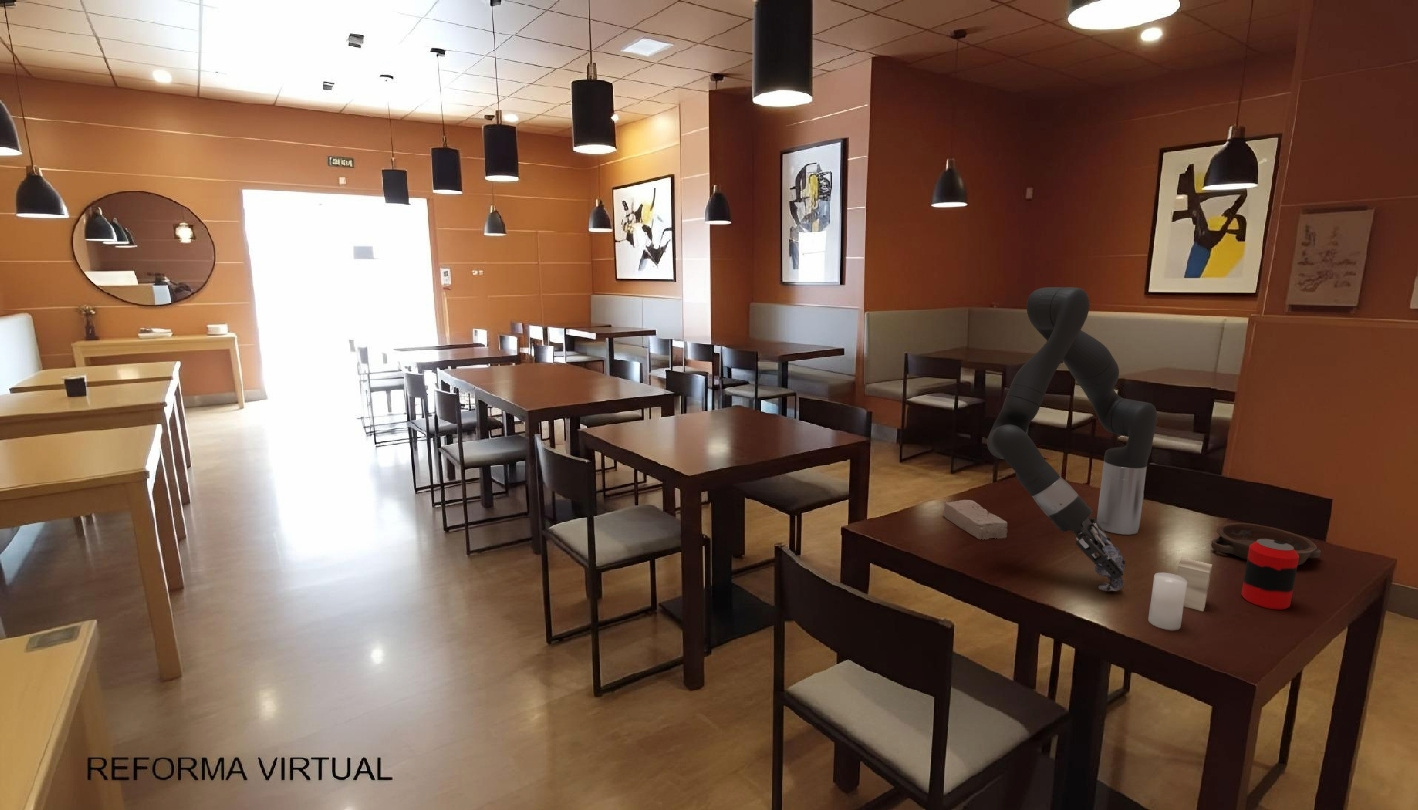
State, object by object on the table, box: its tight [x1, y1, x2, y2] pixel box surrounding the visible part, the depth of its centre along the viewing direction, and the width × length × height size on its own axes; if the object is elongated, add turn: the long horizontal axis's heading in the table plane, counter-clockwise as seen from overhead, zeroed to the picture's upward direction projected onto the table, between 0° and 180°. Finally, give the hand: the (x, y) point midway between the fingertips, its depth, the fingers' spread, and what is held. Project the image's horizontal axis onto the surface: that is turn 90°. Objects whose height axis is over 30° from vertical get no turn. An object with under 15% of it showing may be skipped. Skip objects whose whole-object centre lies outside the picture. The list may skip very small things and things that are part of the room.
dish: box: [1210, 522, 1322, 566], centre depth 157 cm, size 18×22×5 cm
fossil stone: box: [1094, 543, 1126, 592], centre depth 139 cm, size 5×5×10 cm
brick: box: [943, 499, 1008, 540], centre depth 174 cm, size 17×8×5 cm, turn 12°
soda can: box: [1241, 539, 1299, 611], centre depth 134 cm, size 8×8×12 cm
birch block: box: [1176, 557, 1213, 612], centre depth 134 cm, size 5×5×8 cm
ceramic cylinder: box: [1147, 572, 1187, 631], centre depth 126 cm, size 5×5×9 cm
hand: (1120, 570), depth 138 cm, fingers open, 5 cm apart
